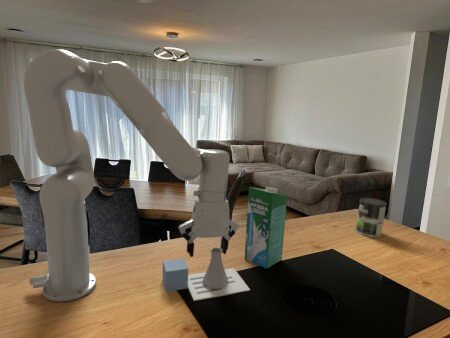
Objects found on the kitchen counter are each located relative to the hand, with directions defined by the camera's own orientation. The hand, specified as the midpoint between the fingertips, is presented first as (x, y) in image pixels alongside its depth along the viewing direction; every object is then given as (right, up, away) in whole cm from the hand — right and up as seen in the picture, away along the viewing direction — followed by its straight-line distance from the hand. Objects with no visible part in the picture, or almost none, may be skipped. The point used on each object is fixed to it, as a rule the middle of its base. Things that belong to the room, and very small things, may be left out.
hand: (207, 253), depth 84 cm
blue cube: (-9, -9, -1) cm, 12 cm away
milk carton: (+18, -7, +16) cm, 25 cm away
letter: (+2, -9, +1) cm, 9 cm away
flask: (+2, -9, 0) cm, 9 cm away
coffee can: (+67, -4, +44) cm, 80 cm away
